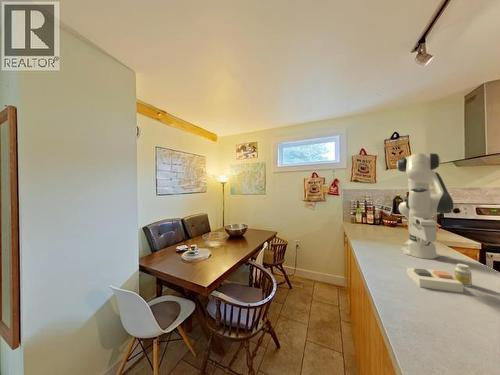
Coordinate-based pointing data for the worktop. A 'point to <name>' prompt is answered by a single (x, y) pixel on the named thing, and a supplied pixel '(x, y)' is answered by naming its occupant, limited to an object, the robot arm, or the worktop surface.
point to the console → (435, 281)
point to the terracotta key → (442, 274)
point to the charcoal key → (422, 272)
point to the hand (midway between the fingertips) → (421, 246)
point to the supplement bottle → (463, 275)
